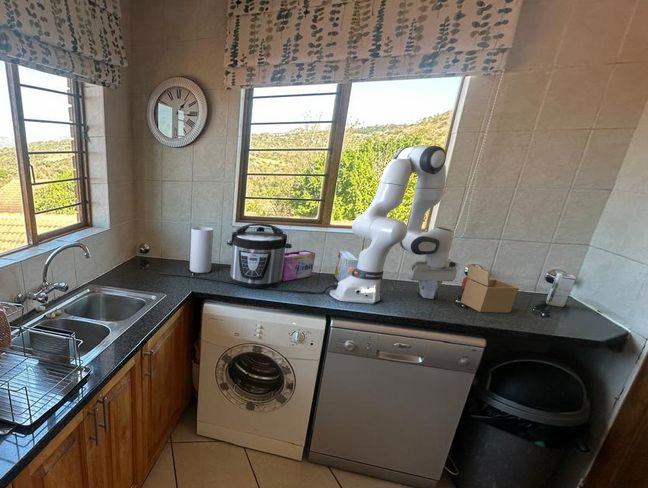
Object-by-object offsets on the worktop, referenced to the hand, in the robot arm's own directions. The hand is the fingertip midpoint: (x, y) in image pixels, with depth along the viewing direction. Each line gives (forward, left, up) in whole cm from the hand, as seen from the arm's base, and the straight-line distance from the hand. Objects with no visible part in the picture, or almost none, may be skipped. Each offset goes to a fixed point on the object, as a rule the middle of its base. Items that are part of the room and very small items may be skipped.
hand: (428, 289), depth 197 cm
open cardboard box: (+18, -14, -4) cm, 23 cm away
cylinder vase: (-109, +38, -4) cm, 116 cm away
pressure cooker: (-81, +16, -4) cm, 83 cm away
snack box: (-32, +21, -4) cm, 39 cm away
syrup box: (+54, -8, -4) cm, 55 cm away
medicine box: (0, 0, -4) cm, 4 cm away
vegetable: (+26, +6, -4) cm, 27 cm away
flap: (+11, -14, +12) cm, 21 cm away
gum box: (-57, +29, -4) cm, 64 cm away
